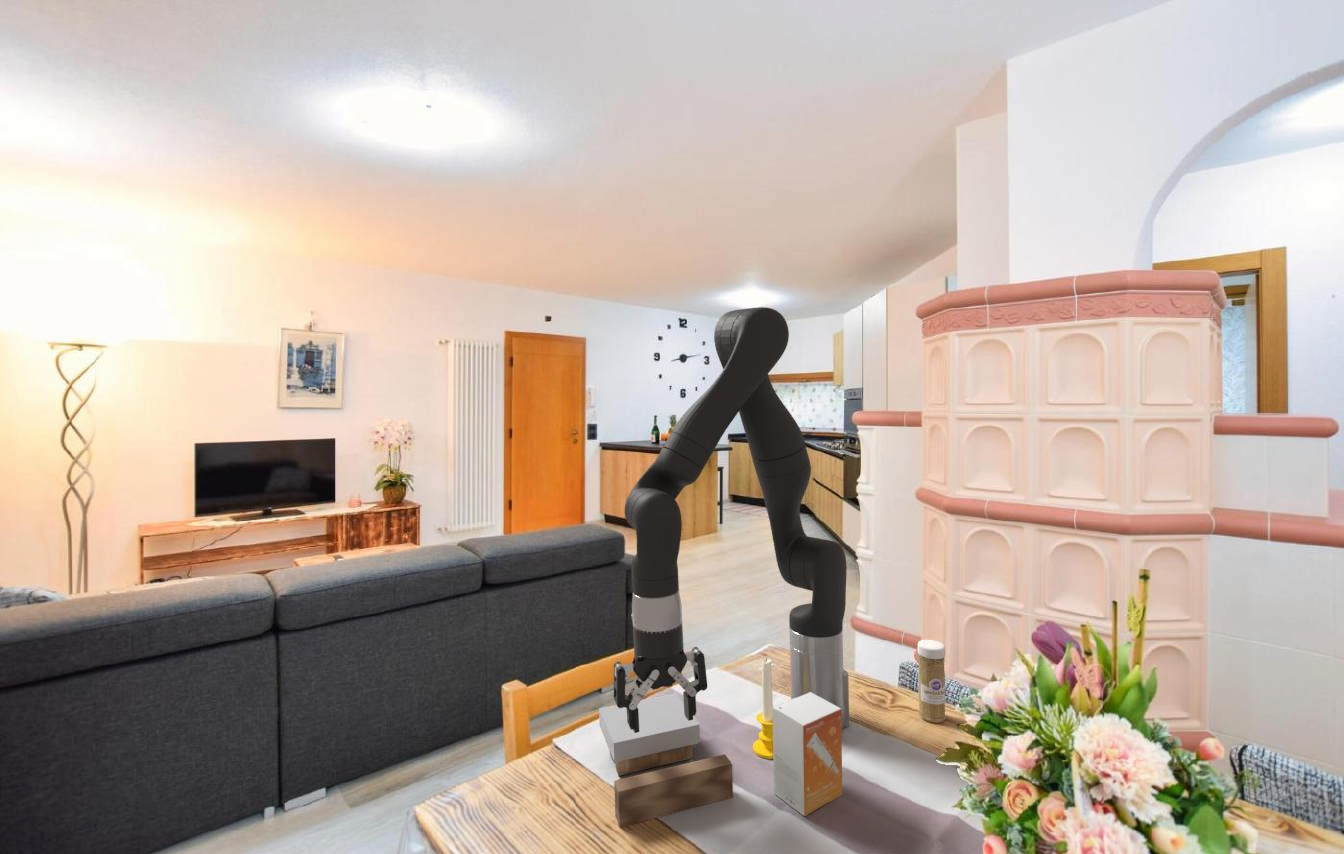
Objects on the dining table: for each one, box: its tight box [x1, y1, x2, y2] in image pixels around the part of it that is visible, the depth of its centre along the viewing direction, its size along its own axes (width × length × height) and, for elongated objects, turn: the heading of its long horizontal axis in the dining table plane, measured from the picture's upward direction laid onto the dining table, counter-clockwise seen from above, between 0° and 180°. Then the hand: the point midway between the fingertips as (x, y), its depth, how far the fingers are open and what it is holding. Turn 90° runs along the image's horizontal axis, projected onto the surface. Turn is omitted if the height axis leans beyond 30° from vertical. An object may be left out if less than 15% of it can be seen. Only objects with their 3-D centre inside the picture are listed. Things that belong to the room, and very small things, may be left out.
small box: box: [772, 692, 843, 817], centre depth 85 cm, size 8×6×13 cm
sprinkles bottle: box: [917, 639, 947, 724], centre depth 104 cm, size 5×5×14 cm
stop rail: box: [613, 753, 734, 828], centre depth 83 cm, size 17×2×5 cm, turn 109°
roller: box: [615, 745, 694, 776], centre depth 93 cm, size 12×4×4 cm, turn 109°
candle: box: [752, 657, 774, 760], centre depth 96 cm, size 5×5×16 cm
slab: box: [598, 692, 701, 763], centre depth 95 cm, size 14×11×3 cm
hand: (662, 723), depth 88 cm, fingers open, 8 cm apart
